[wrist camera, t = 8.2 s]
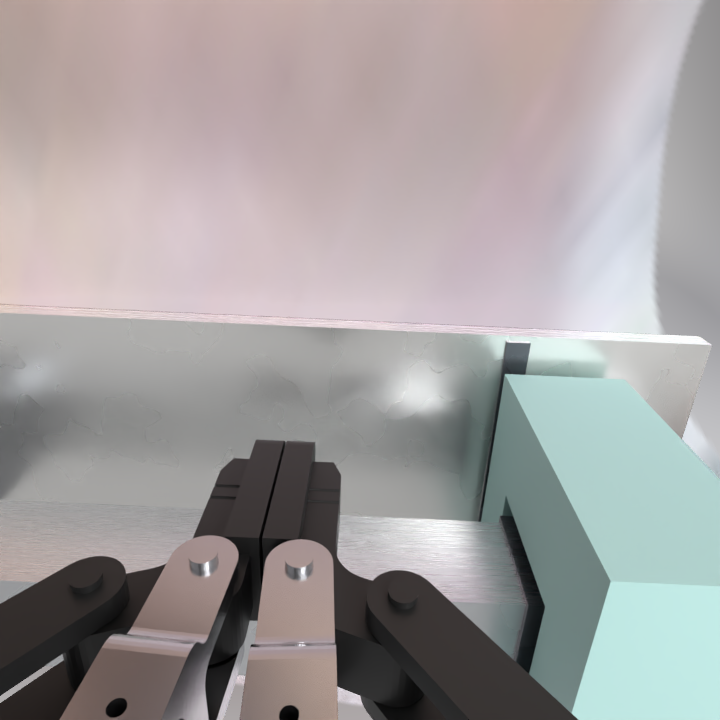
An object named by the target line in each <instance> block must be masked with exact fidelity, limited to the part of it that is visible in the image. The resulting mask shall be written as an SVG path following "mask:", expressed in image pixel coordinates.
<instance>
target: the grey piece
mask: <svg viewBox="0 0 720 720" xmlns="http://www.w3.org/2000/svg"><path fill="white" fill-rule="evenodd" d="M711 347H712V345H711V344H710V343H708V342H707V341H705V340H704V339H702V338H701V337H699V336H680V335H658V334H636V333H614V332H592V331H570V330H548V329H526V328H504V327H482V326H460V325H438V324H416V323H394V322H372V321H350V320H328V319H306V318H284V317H262V316H240V315H218V314H196V313H173V312H151V311H129V310H107V309H85V308H63V307H41V306H19V305H0V603H2V602H4V601H6V600H8V599H9V598H11V597H13V596H15V595H17V594H18V593H20V592H22V591H24V590H25V589H27V588H29V587H31V586H33V585H34V584H36V583H38V582H40V581H41V580H43V579H45V578H47V577H49V576H50V575H52V574H54V573H56V572H57V571H59V570H61V569H63V568H65V567H66V566H68V565H70V564H72V563H74V562H76V561H79V560H81V559H85V558H88V557H94V556H107V557H112V558H114V559H117V560H118V561H120V562H121V563H122V564H123V565H124V568H125V570H126V574H127V573H131V572H136V571H141V570H146V569H151V568H155V567H159V566H161V565H164V564H166V563H167V562H168V560H169V558H170V556H171V555H172V553H173V552H174V551H175V550H176V549H177V548H178V547H179V546H180V545H181V544H183V543H185V542H186V541H188V540H191V539H193V536H194V534H195V531H196V529H197V527H198V524H199V522H200V519H201V517H202V514H203V512H204V510H205V507H206V505H207V502H208V500H209V499H210V495H211V493H212V490H213V488H214V487H215V483H216V480H217V478H218V475H219V473H220V471H221V469H222V468H224V467H225V466H226V465H227V464H228V463H229V462H230V461H231V460H233V459H234V458H242V459H249V458H250V455H251V452H252V450H253V447H254V444H255V441H256V440H279V441H285V442H287V441H305V442H315V448H316V453H315V462H334V463H335V465H336V467H337V469H338V470H339V472H340V474H341V497H340V525H339V538H338V551H337V557H338V559H339V561H340V562H341V564H342V565H343V566H344V567H345V568H346V569H347V570H349V571H350V572H351V573H353V574H355V575H357V576H360V577H362V578H365V579H368V580H372V581H373V580H374V579H375V578H376V577H377V576H379V575H380V574H383V573H385V572H388V571H393V570H404V571H410V572H414V573H416V574H418V575H420V576H422V577H424V578H425V579H426V580H428V581H429V582H430V583H431V584H432V585H433V586H434V587H435V588H436V589H438V590H439V591H440V592H441V593H442V594H443V595H444V596H445V597H446V598H447V599H448V600H449V601H451V602H452V603H453V604H454V605H455V606H456V607H457V608H458V609H459V610H460V611H461V612H462V613H464V614H465V615H466V616H467V617H468V618H469V619H470V620H471V621H472V622H473V623H474V624H475V625H476V626H478V627H479V628H480V629H481V630H482V631H483V632H484V633H485V634H486V635H487V636H488V637H489V638H491V639H492V640H493V641H494V642H495V643H496V644H497V645H498V646H499V647H500V648H501V649H502V650H504V651H505V652H506V653H507V654H508V655H509V656H510V657H511V658H512V659H513V660H514V661H515V662H517V663H518V664H519V665H520V666H521V667H522V668H523V669H524V670H525V671H526V672H527V673H528V674H529V672H530V668H531V664H532V660H533V656H534V652H535V647H536V643H537V639H538V635H539V631H540V627H541V622H542V618H543V614H544V610H545V605H544V603H543V600H542V597H541V594H540V591H539V588H538V585H537V583H536V580H535V577H534V574H533V571H532V568H531V565H530V563H529V560H528V557H527V554H526V551H525V548H524V546H523V543H522V540H521V537H520V534H519V531H518V528H517V526H516V523H515V520H514V517H513V516H500V518H499V522H481V518H482V512H483V506H484V499H485V493H486V487H487V481H488V475H489V469H490V462H491V456H492V450H493V444H494V438H495V432H496V425H497V419H498V413H499V407H500V401H501V395H502V388H503V382H504V376H505V374H517V375H539V376H561V377H583V378H604V379H625V380H626V381H627V382H628V383H629V384H630V386H631V387H632V388H633V389H634V390H635V391H636V392H637V393H638V394H639V395H640V396H641V397H642V398H643V399H644V400H645V401H646V402H647V403H648V404H649V405H650V407H651V408H652V409H653V410H654V411H655V412H656V413H657V414H658V415H659V416H660V417H661V418H662V419H663V420H664V421H665V422H666V423H667V424H668V425H669V426H670V427H671V429H672V430H673V431H674V432H675V433H676V434H677V435H678V436H679V437H680V438H681V439H682V437H683V434H684V431H685V427H686V424H687V421H688V418H689V415H690V412H691V409H692V405H693V403H694V399H695V396H696V393H697V390H698V387H699V384H700V381H701V378H702V375H703V371H704V368H705V365H706V362H707V359H708V356H709V353H710V350H711ZM256 629H257V621H250V622H249V626H248V630H247V634H246V638H245V641H244V645H245V652H244V656H243V660H242V663H241V666H240V669H239V672H238V675H246V669H247V662H248V655H249V650H250V646H251V644H254V643H255V637H256ZM63 660H64V659H63V655H60V656H59V657H57V658H56V659H54V660H53V661H51V662H50V663H48V664H47V665H45V666H56V665H57V664H59V663H60V662H62V661H63Z"/></svg>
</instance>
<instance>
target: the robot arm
mask: <svg viewBox="0 0 720 720" xmlns="http://www.w3.org/2000/svg"><path fill="white" fill-rule="evenodd" d="M315 453H316V448H315V442H305V441H287V442H285V441H279V440H256V441H255V444H254V447H253V450H252V452H251V455H250V458H249V459H242V458H234V459H233V460H231V461H230V462H229V463H228V464H227V465H226V466H225V467H224V468H222V469H221V471H220V473H219V475H218V478H217V480H216V483H215V487H214V488H213V490H212V493H211V495H210V499H209V500H208V502H207V505H206V507H205V510H204V512H203V514H202V517H201V519H200V522H199V524H198V527H197V529H196V531H195V534H194V536H193V539H191V540H188V541H186V542H185V543H183V544H181V545H180V546H179V547H178V548H177V549H176V550H175V551H174V552H173V553H172V555H171V556H170V558H169V560H168V562H167V563H166V564H164V565H161V566H159V567H155V568H151V569H146V570H141V571H136V572H131V573H127V574H126V570H125V568H124V565H123V564H122V563H121V562H120V561H118V560H117V559H114V558H112V557H107V556H94V557H88V558H85V559H81V560H79V561H76V562H74V563H72V564H70V565H68V566H66V567H65V568H63V569H61V570H59V571H57V572H56V573H54V574H52V575H50V576H49V577H47V578H45V579H43V580H41V581H40V582H38V583H36V584H34V585H33V586H31V587H29V588H27V589H25V590H24V591H22V592H20V593H18V594H17V595H15V596H13V597H11V598H9V599H8V600H6V601H4V602H2V603H0V696H1V695H2V694H3V693H5V692H6V691H8V690H9V689H11V688H12V687H14V686H15V685H17V684H18V683H20V682H21V681H23V680H24V679H26V678H27V677H29V676H30V675H32V674H33V673H35V672H36V671H38V670H39V669H41V668H42V667H44V666H45V665H47V664H48V663H50V662H51V661H53V660H54V659H56V658H57V657H59V656H60V655H63V659H64V660H63V661H62V662H60V663H59V664H57V665H56V666H54V667H53V668H51V669H50V670H48V671H47V672H45V673H44V674H43V675H41V676H40V677H38V678H37V679H35V680H34V681H32V682H31V683H29V684H28V685H26V686H25V687H23V688H22V689H21V690H19V691H18V692H16V693H15V694H13V695H12V696H10V697H9V698H7V699H6V700H4V701H3V702H1V703H0V720H224V717H225V714H226V711H227V707H228V704H229V701H230V698H231V695H232V691H233V688H234V685H235V682H236V679H237V676H238V672H239V669H240V666H241V663H242V660H243V656H244V652H245V645H244V641H245V638H246V634H247V630H248V626H249V622H250V621H257V629H256V637H255V643H254V644H251V646H250V650H249V655H248V662H247V669H246V677H245V684H244V692H243V699H242V706H241V714H240V720H338V706H337V705H338V702H337V686H338V687H340V688H343V689H345V690H348V691H350V692H353V693H355V694H358V695H360V696H361V700H362V703H363V705H364V708H365V709H366V711H367V712H368V714H369V715H370V716H371V718H372V719H373V720H578V719H577V718H576V717H575V716H574V715H573V714H572V713H571V712H569V711H568V710H567V709H566V708H565V707H564V706H563V705H562V704H561V703H560V702H559V701H558V700H557V699H555V698H554V697H553V696H552V695H551V694H550V693H549V692H548V691H547V690H546V689H545V688H544V687H542V686H541V685H540V684H539V683H538V682H537V681H536V680H535V679H534V678H533V677H532V676H531V675H529V674H528V673H527V672H526V671H525V670H524V669H523V668H522V667H521V666H520V665H519V664H518V663H517V662H515V661H514V660H513V659H512V658H511V657H510V656H509V655H508V654H507V653H506V652H505V651H504V650H502V649H501V648H500V647H499V646H498V645H497V644H496V643H495V642H494V641H493V640H492V639H491V638H489V637H488V636H487V635H486V634H485V633H484V632H483V631H482V630H481V629H480V628H479V627H478V626H476V625H475V624H474V623H473V622H472V621H471V620H470V619H469V618H468V617H467V616H466V615H465V614H464V613H462V612H461V611H460V610H459V609H458V608H457V607H456V606H455V605H454V604H453V603H452V602H451V601H449V600H448V599H447V598H446V597H445V596H444V595H443V594H442V593H441V592H440V591H439V590H438V589H436V588H435V587H434V586H433V585H432V584H431V583H430V582H429V581H428V580H426V579H425V578H424V577H422V576H420V575H418V574H416V573H414V572H410V571H404V570H393V571H388V572H385V573H383V574H380V575H379V576H377V577H376V578H375V579H374V580H373V581H372V580H368V579H365V578H362V577H360V576H357V575H355V574H353V573H351V572H350V571H349V570H347V569H346V568H345V567H344V566H343V565H342V564H341V562H340V561H339V559H338V557H337V551H338V538H339V525H340V497H341V474H340V472H339V470H338V469H337V467H336V465H335V463H334V462H315Z"/></svg>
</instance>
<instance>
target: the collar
mask: <svg viewBox="0 0 720 720" xmlns="http://www.w3.org/2000/svg"><path fill="white" fill-rule="evenodd" d="M500 516H513V517H514V520H515V523H516V526H517V528H518V531H519V534H520V537H521V540H522V543H523V546H524V548H525V551H526V554H527V557H528V560H529V563H530V565H531V568H532V571H533V574H534V577H535V580H536V583H537V585H538V588H539V591H540V594H541V597H542V600H543V603H544V605H545V610H544V614H543V618H542V622H541V627H540V631H539V635H538V639H537V643H536V647H535V652H534V656H533V660H532V664H531V668H530V672H529V675H531V676H532V677H533V678H534V679H535V680H536V681H537V682H538V683H539V684H540V685H541V686H542V687H544V688H545V689H546V690H547V691H548V692H549V693H550V694H551V695H552V696H553V697H554V698H555V699H557V700H558V701H559V702H560V703H561V704H562V705H563V706H564V707H565V708H566V709H567V710H568V711H569V712H571V713H572V714H573V715H574V716H575V717H576V718H577V719H578V720H720V479H719V478H718V477H717V476H716V475H715V474H714V473H713V472H712V470H711V469H710V468H709V467H708V466H707V465H706V464H705V463H704V462H703V461H702V460H701V459H700V458H699V457H698V456H697V455H696V454H695V453H694V452H693V451H692V450H691V448H690V447H689V446H688V445H687V444H686V443H685V442H684V441H683V440H682V439H681V438H680V437H679V436H678V435H677V434H676V433H675V432H674V431H673V430H672V429H671V427H670V426H669V425H668V424H667V423H666V422H665V421H664V420H663V419H662V418H661V417H660V416H659V415H658V414H657V413H656V412H655V411H654V410H653V409H652V408H651V407H650V405H649V404H648V403H647V402H646V401H645V400H644V399H643V398H642V397H641V396H640V395H639V394H638V393H637V392H636V391H635V390H634V389H633V388H632V387H631V386H630V384H629V383H628V382H627V381H626V380H625V379H604V378H583V377H561V376H539V375H517V374H505V376H504V382H503V388H502V395H501V401H500V407H499V413H498V419H497V425H496V432H495V438H494V444H493V450H492V456H491V462H490V469H489V475H488V481H487V487H486V493H485V499H484V506H483V512H482V518H481V522H499V518H500Z"/></svg>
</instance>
